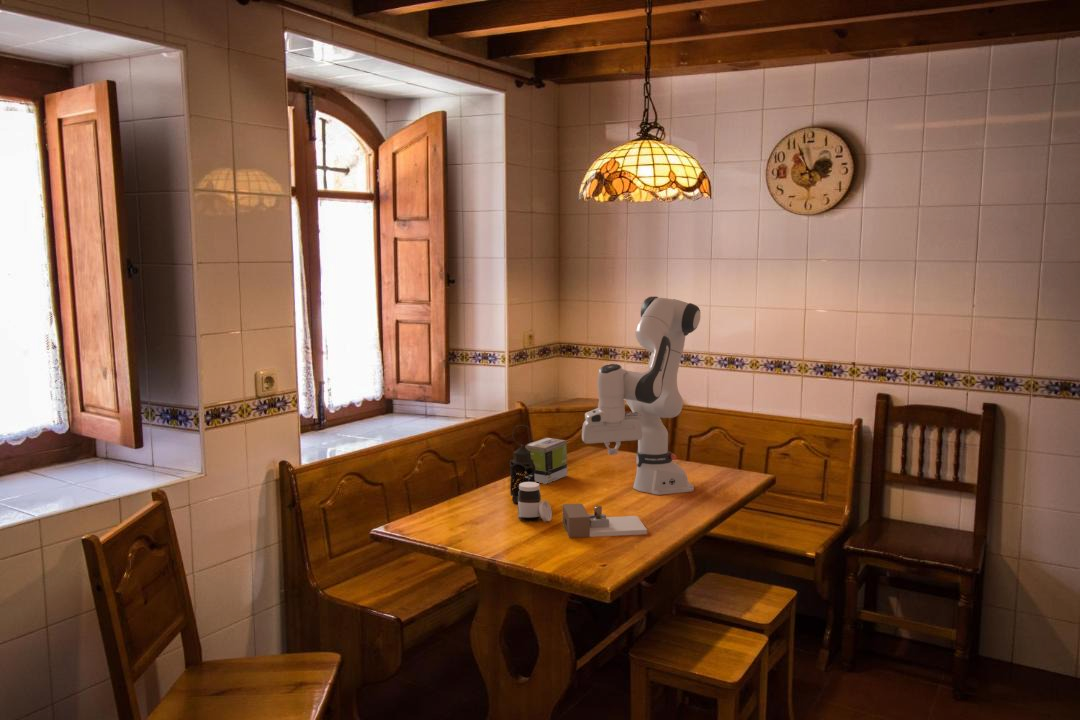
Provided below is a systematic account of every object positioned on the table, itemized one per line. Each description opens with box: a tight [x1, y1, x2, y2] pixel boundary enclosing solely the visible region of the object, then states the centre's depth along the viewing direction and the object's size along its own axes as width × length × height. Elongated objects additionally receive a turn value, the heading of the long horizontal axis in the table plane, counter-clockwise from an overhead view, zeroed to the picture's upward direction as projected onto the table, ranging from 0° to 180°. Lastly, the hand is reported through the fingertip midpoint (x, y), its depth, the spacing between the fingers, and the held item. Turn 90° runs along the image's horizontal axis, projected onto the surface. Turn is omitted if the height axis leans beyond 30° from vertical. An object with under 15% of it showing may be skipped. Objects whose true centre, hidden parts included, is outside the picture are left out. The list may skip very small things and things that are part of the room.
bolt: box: [590, 505, 604, 519], centre depth 279 cm, size 10×2×6 cm, turn 97°
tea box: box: [524, 437, 568, 485], centre depth 338 cm, size 15×10×15 cm
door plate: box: [562, 503, 648, 539], centre depth 280 cm, size 25×14×6 cm, turn 97°
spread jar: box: [517, 482, 553, 523], centre depth 290 cm, size 12×11×12 cm
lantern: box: [509, 424, 536, 504], centre depth 308 cm, size 10×9×28 cm
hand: (612, 454), depth 289 cm, fingers closed
